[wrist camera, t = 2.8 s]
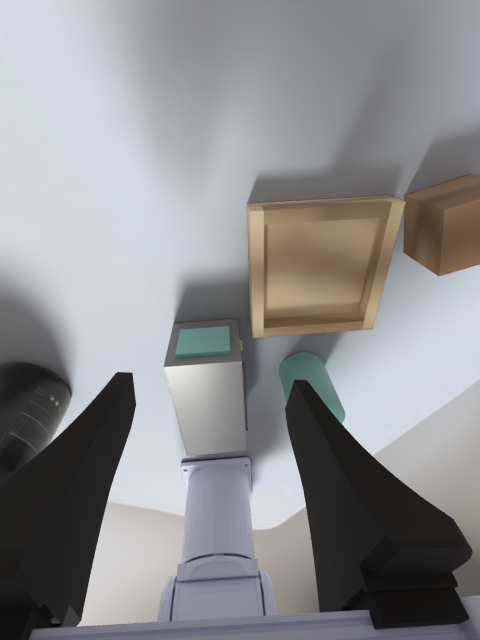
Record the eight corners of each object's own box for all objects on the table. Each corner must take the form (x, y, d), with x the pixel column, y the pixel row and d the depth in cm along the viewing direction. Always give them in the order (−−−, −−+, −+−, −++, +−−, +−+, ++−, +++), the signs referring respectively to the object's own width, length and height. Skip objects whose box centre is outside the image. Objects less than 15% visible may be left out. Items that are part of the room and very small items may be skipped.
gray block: (244, 403, 28) (249, 450, 24) (191, 407, 28) (186, 455, 24) (239, 315, 22) (244, 357, 18) (172, 319, 22) (162, 363, 18)
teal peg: (320, 382, 27) (340, 433, 23) (278, 385, 27) (290, 437, 23) (325, 350, 25) (349, 399, 21) (279, 353, 25) (293, 404, 20)
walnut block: (461, 234, 20) (509, 255, 17) (403, 252, 21) (438, 276, 17) (469, 173, 18) (526, 184, 15) (403, 195, 18) (444, 210, 15)
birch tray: (361, 314, 23) (372, 329, 22) (250, 322, 23) (252, 337, 21) (388, 195, 18) (406, 201, 17) (246, 203, 18) (249, 211, 16)
